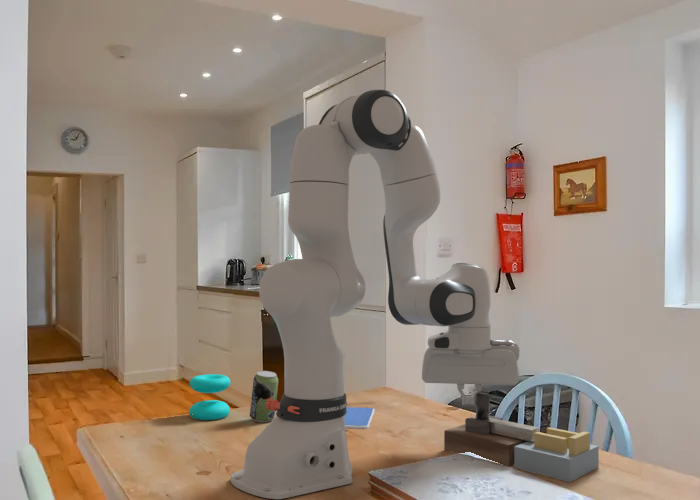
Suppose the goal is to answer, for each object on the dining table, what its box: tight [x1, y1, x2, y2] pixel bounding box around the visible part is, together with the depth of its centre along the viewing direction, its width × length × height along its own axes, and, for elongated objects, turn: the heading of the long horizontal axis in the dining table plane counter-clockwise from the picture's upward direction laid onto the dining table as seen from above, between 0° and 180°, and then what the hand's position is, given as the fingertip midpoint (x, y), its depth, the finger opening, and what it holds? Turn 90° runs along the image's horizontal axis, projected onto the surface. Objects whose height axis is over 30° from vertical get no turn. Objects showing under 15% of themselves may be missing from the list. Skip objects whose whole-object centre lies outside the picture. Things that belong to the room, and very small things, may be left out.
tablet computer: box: [344, 406, 376, 430], centre depth 156 cm, size 19×13×1 cm, turn 173°
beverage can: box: [249, 370, 279, 423], centre depth 153 cm, size 6×7×12 cm
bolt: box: [470, 392, 540, 442], centre depth 127 cm, size 3×14×7 cm, turn 45°
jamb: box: [443, 415, 528, 467], centre depth 128 cm, size 12×15×6 cm
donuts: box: [188, 373, 231, 421], centre depth 157 cm, size 10×10×10 cm
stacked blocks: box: [513, 427, 600, 483], centre depth 118 cm, size 12×11×7 cm
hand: (469, 405), depth 133 cm, fingers closed
